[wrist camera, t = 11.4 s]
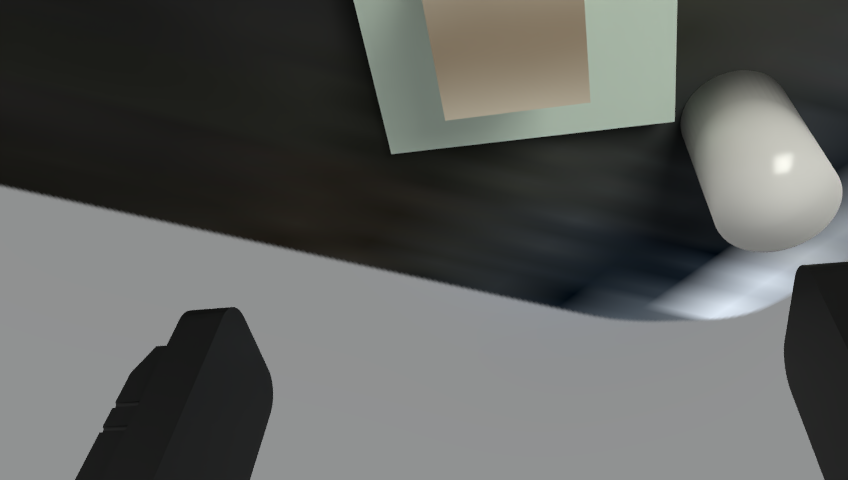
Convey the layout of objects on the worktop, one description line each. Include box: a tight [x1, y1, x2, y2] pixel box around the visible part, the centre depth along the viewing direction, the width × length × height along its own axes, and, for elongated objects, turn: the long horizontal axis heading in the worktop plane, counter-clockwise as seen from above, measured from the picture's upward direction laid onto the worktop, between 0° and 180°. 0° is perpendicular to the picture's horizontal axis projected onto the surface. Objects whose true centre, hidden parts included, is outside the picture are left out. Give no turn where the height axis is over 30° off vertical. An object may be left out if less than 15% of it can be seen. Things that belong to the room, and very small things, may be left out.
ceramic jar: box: [680, 70, 842, 252], centre depth 27 cm, size 4×4×6 cm
